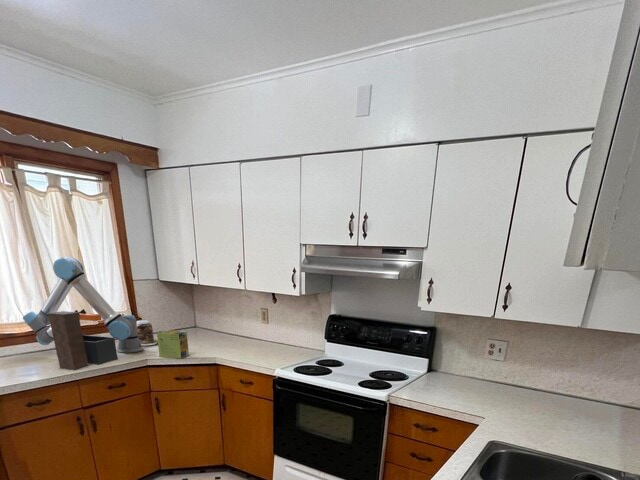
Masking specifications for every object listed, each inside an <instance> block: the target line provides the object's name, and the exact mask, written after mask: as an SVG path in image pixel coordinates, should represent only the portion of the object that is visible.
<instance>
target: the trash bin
mask: <svg viewBox="0 0 640 480" xmlns="http://www.w3.org/2000/svg"><path fill="white" fill-rule="evenodd" d="M82 335H83V340H84V346H85V351H86V356H87V361H88V365H98V366H99V365H103V364H105V363H109V362H112V361H115V360H118V359H119V358H118V350H117V345H116V339H115V338H113V337H112V336H111V337H110V336H100V335H88V334H82Z"/></svg>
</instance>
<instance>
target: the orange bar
mask: <svg viewBox="0 0 640 480" xmlns="http://www.w3.org/2000/svg"><path fill="white" fill-rule="evenodd" d="M79 314H80V315H79V320H80V321H92V322H97V321H102V318H101V315H99V314H98V313H87V314H85V313H79Z"/></svg>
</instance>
